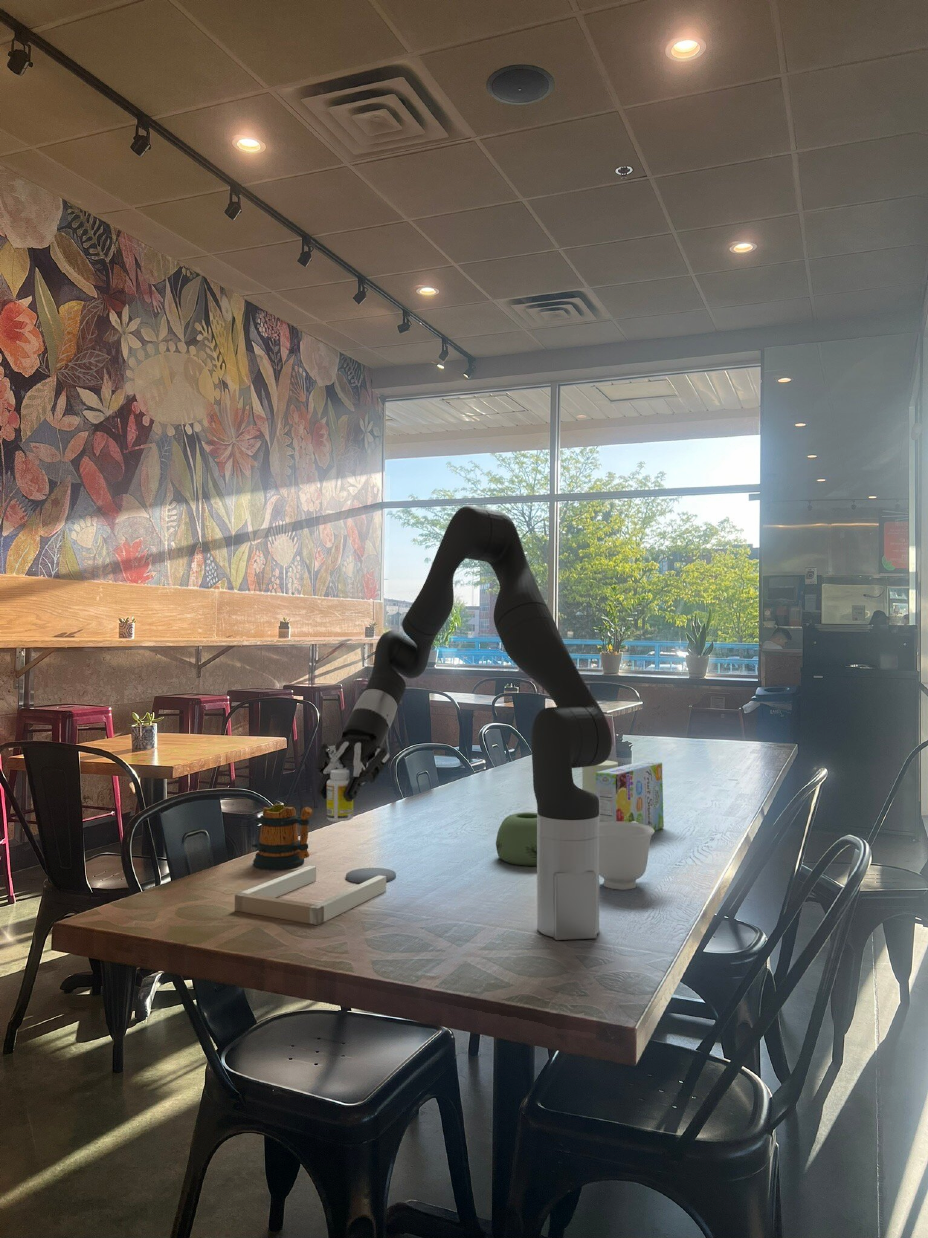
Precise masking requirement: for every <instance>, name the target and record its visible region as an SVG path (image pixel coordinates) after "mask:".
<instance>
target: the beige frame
mask: <svg viewBox="0 0 928 1238" xmlns="http://www.w3.org/2000/svg"><path fill="white" fill-rule="evenodd" d="M316 881H317V866H315V865H307V866H305V867H302V868H300V869H297V870H295V871H292V872H288V873H287V874H284V875H282V876H279V877H276V878H274V879H272V880H269V881H266V882H264V883H261V884H259V885H256V886H254V887H251V888H249V889H245V890H243V891H240V892H238V893H236V894H234V911H235V912H241V913H247V914H252V915H257V916H262V917H263V916H264V917H269V918H274V919H275V918H276V919H280V920H281V919H282V920H287V921H292V922H297V923H298V922H299V923H302V924H303V923H304V924H308V925H309V924H310V925H316V926H319V925H321V924H323V923H325V922H327V921H330V920H331V919H333V918H335V917H336V916H339V915H341V914H343V913H345V912H347V911H349V910H351V909H352V908H355V907H357V906H359V905H361V904H363V903H365V902H367V901H369V900H371V899H373V898H375V897H377V896H379V895H381V894H383V893H385V892H387V882H386V876H380V875H378V876H376V877H374V878H372V879H370V880H367V881H365V882H363V883H361V884H360V883H358V884H357V885H355V886H353V887H350V888H348V889H346V890H344V891H342V892H340V893H337V894H335V895H333V896H330V897H329V898H326V899H325V900H322V901H319V902H318V903H316V904H315V903H310V902H302V901H296V900H291V899H286V898H285V899H284V898H279V897H280V896H281V897H282V896H283V895H285V894H288V893H290V892H292V891H295V890H298V889H300V888H302V887H305V886H306V885H310V884H311V883H314V882H316Z"/></svg>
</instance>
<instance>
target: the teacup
mask: <svg viewBox="0 0 928 1238" xmlns="http://www.w3.org/2000/svg"><path fill="white" fill-rule="evenodd" d="M655 832H656V830H655V831H654V829H653V828H652V827H650V826H647V825H644V824H639V823H638V822H635V821H633V822H621V821H607V822H599V877H601V878H602V879H603V883H602V884H603V886H604V887H606V888H608V889H611V890H621V891H628V890H632V889H635V888H637V880H639V879H640V878H642V877H643V875H645V873H646V869H647V865H648V859H649V851H650V844H651V839H652V836H653V834H655Z"/></svg>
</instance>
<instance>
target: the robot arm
mask: <svg viewBox="0 0 928 1238" xmlns="http://www.w3.org/2000/svg"><path fill="white" fill-rule="evenodd" d="M466 559H467V560H475V561H478V562H479V561H480V562H485V563H488V564H489V565H490V567H491V568H492V569H493V572H494V573H495V576H496V579H497V581H498V584H499V591H498V594H497V597H496V601H495V603H494V609H493V622H494V626H495V629H496V632H497V634H498V636H499V639H500V642H501V643H502V646H503V648H504V651H505V652H506V654H507V656H508V657H509V658H510V659H511V661H512V662H513V663H514V664H515V665H516V666H517V667H518V669H520V670H521V671H522V672H523V673H525V674H526V675H527V676H528V677H529V678H531V679H532V680H533V681H534V682H535V683H536V684H537V685H539V686H540V687H541V688H543V690H545V692H546V693H547V694H548V696H550V698H551V700H552V701H553V702H554V704H555V706H551V707H550V706H549V707H545V708H542V709H541V710H540V711H538V713H537V714H536V715H535V717H534V720H533V723H532V726H531V733H530V734H531V736H530V737H531V739H530V742H531V744H530V745H531V747H530V748H531V761H532V762H531V764H532V785H533V786H532V787H533V793H534V796H535V800H536V809H537V811H536V813H537V865H536V907H537V908H536V910H537V912H536V918H537V919H536V927H537V931H538V932H539V933H541V934H543V935H545V936H548V937H551V938H553V939H554V940H555V941H561V940H564V941H565V940H584V939H585V940H586V939H597V938H598V937H597V934H599V933H600V875H599V799H598V797H597V796H596V795H595V794H594V793H592V792H589V791H586V790H582V788H579V786H577V785H576V784H575V782H574V777H573V770H572V769H579V768H582V767H589V766H595V765H599V764H602V763H603V762H605V761H608V760H607V759H608V758H609V757H610V754H611V752H612V746H613V738H612V731H611V727H610V725H609V723H608V720H607V718H606V715H605V714H604V712H603V710H602V708H601V706H600V705H599V703H598V701H597V700H596V698H595V696H594V694H593V693H592V691H591V690H590V688H589V686H588V685H587V683H586V682H585V680H584V678H583V677H582V675H581V674H580V671H579V670H578V668H577V665H576V664H575V662H574V660H573V659H572V656H571V654H570V653H569V650H568V648H567V647H566V644H565V643H564V640H563V639H562V636H561V634H560V631H559V629H558V626H557V624H556V622H555V620H554V617H553V615H552V612H551V611H550V609H549V607H548V605H547V603H546V601H545V600H544V598H543V595H542V593H541V592H540V589H539V587H538V584H537V582H536V579H535V577H534V575H533V573H532V570H531V568H530V565H529V563H528V560H527V557H526V553H525V551H524V548H523V544H522V541H521V539H520V535H519V533H518V530H517V527H516V526H515V523H514V521H513V519H511V517H510V516H509V515H507V514H506V513H505V512H502V511H499V510H494V509H491V508H486V507H480V506H474V505H464V506H461V507H460V508H459V509H458V510H457V511H455V513H454V514H453V516H452V517H451V519H450V521H449V523H448V525H447V526H446V529H445V532H444V534H443V537H442V539H441V541H440V543H439V546H438V548H437V551H436V554H435V556H434V558H433V561H432V564H431V567H430V569H429V572H428V574H427V577H426V579H425V582H424V584H423V585H422V588H421V589H420V591H419V592H418V595H417V596H416V598H415V599H414V601H413V602H412V604H411V606H410V607H409V609H408V611H407V612H406V614H405V615H404V617H403V619H402V622H401V628H402V630H403V632H404V633H405V634H403V633H401V632H399V631H396V630H388V631H386V632H384V633H383V634H382V635H381V636H380V638H379V639H378V640H377V643H376V645H375V649H374V650H375V651H374V658H373V666H372V671H371V675H370V678H369V680H368V682H367V683H366V686H365V688H364V689H363V692H362V694H361V695H360V697H359V698H358V700H357V701H356V703H355V705H354V707H353V709H352V711H351V714H350V715H349V717H348V719H347V721H346V723H345V726H344V727H343V730H342V734H341V738H340V739H339V740H338V741H337V742H336V743H335V745H330V746H329V745H328V744H327V743H322V744H321V745H320V749H319V753H318V757H317V763H316V768H315V770H316V771H317V772H318V774H319V776H320V777H321V780H320V781H319V784H318V786H317V787H316V791H317V795H318V797H319V798H320V799H321V800H322V799H323V800H325V799H326V800H327V781H328V780H330V779H331V778H330V777H331V776H330V772H331V770H335V769H346V770H348V768H349V769H350V768H353V775H352V776H351V777H349V779H350V780H349V783H348V785H347V787H346V789H345V791H344V793H343V796H344V798H345V799H346V801H348V802H351V801H352V800H353V801H354V799H355V798H357V795H358V793H359V792H360V789H361V786H362V785H364V784H365V783H367V782H368V783H370V784H372V783H374V782H375V781H376V780H377V779H378V777H379V775H381V773H382V772H383V770H384V769H385V768H386V766H387V765H388V764H389V763H390V761H391V759H392V758H391V755H390V753H389V752H388V750H387V749H386V748H385V747H382V746H383V744H384V741H385V740H386V738H387V735H388V733H389V731H390V729H391V726H392V724H393V722H394V719H395V717H396V712H397V709H398V708H399V705H400V702H401V700H402V699H403V697H404V694H405V692H406V688H407V685H406V681H405V679H404V678H403V677H405V678H406V679H407V678H408V679H410V680H411V679H415V678H418V677H420V676H421V675H422V674H423V673H424V672H425V670H426V668H427V665H428V662H429V659H430V655H431V654H430V653H431V650H432V646H433V643H434V641H435V639H436V637H437V635H438V634H439V632H440V631H441V629H442V627H443V626H444V625H445V623H446V622H447V620H448V618H449V617H450V616H451V615H450V614H451V613H452V610H453V607H454V601H455V600H454V599H455V596H454V595H455V594H454V576H455V573H456V571H457V569H458V568H459V566H460V565H461V564H462V562H464V561H465V560H466ZM369 762H370V763H369Z"/></svg>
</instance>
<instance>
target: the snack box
mask: <svg viewBox="0 0 928 1238" xmlns="http://www.w3.org/2000/svg"><path fill="white" fill-rule="evenodd" d="M663 788H664V787H663V762H660V761H650V760H641V761H638V762H633V763H629V764H625V765H621V766H618V767H616V768H612V769H608V770H604V771H599V772H596V796H597V797H598V799H599V822H607V821H621V822H633V821H635V822H638V823H639V824H644V825H647V826H650V827H652V828H653V829H654V831H655V832H656V831H658V830H661V829H663V828H665V825H664V824H665V823H664V822H665V821H664V791H663V790H664V789H663Z"/></svg>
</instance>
